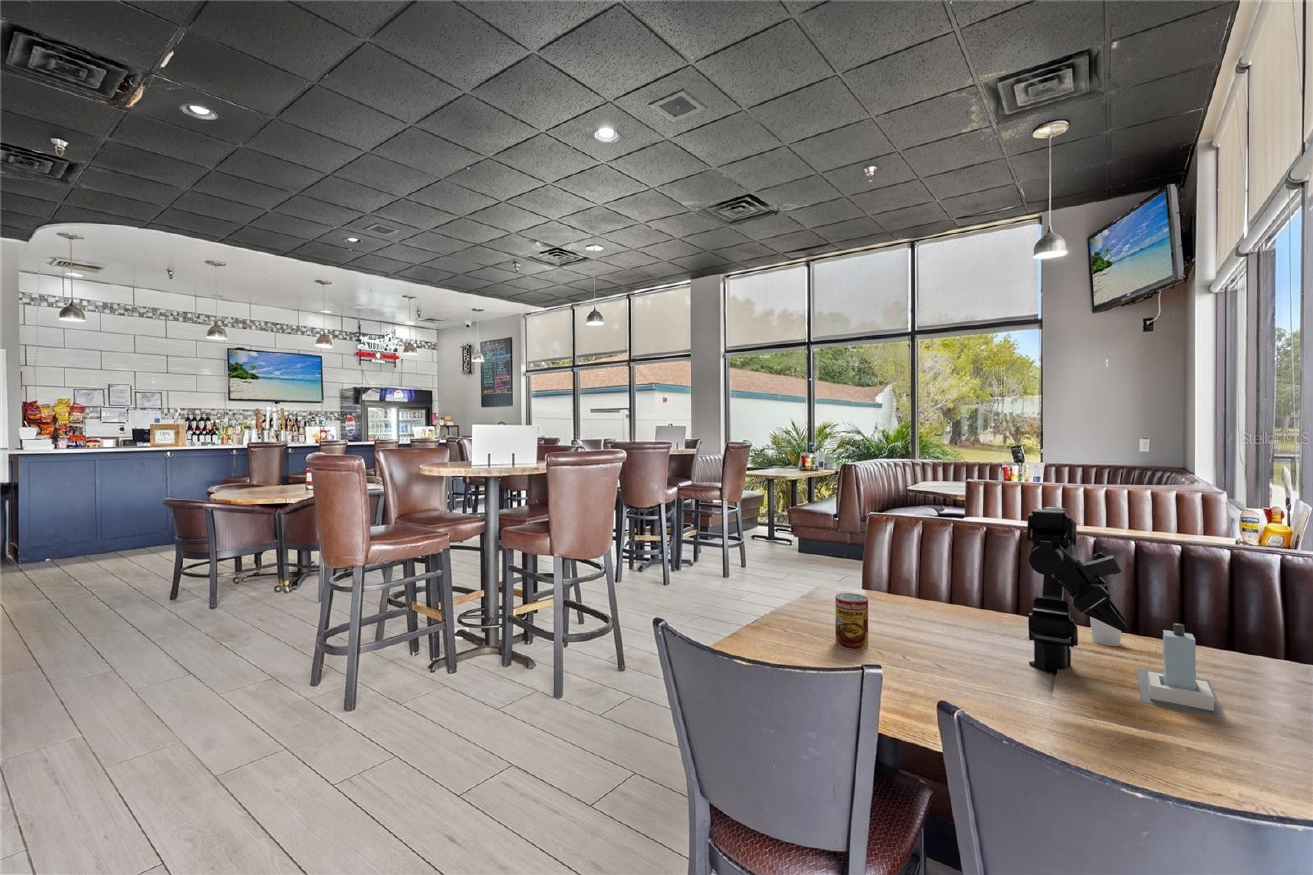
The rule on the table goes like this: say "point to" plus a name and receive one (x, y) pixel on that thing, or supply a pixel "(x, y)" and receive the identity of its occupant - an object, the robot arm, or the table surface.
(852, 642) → the canned food
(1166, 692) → the socket
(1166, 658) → the plug
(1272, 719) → the table surface
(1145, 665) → the table surface
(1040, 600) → the robot arm
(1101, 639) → the white cup
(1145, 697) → the board
